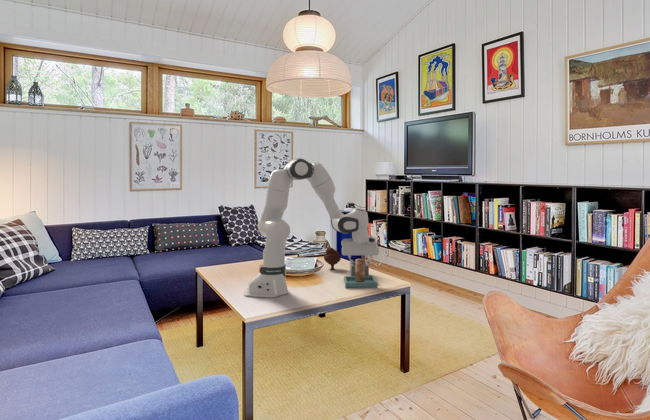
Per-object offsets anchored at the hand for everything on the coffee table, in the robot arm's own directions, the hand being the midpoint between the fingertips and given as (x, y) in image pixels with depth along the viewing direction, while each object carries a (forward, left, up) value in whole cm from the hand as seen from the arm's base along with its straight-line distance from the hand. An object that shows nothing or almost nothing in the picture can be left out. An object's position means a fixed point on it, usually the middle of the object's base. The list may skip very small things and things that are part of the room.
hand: (360, 263), depth 217 cm
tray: (0, 0, -12) cm, 12 cm away
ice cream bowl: (-14, +32, -12) cm, 37 cm away
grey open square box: (+1, +15, -12) cm, 19 cm away
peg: (0, 0, -11) cm, 11 cm away
